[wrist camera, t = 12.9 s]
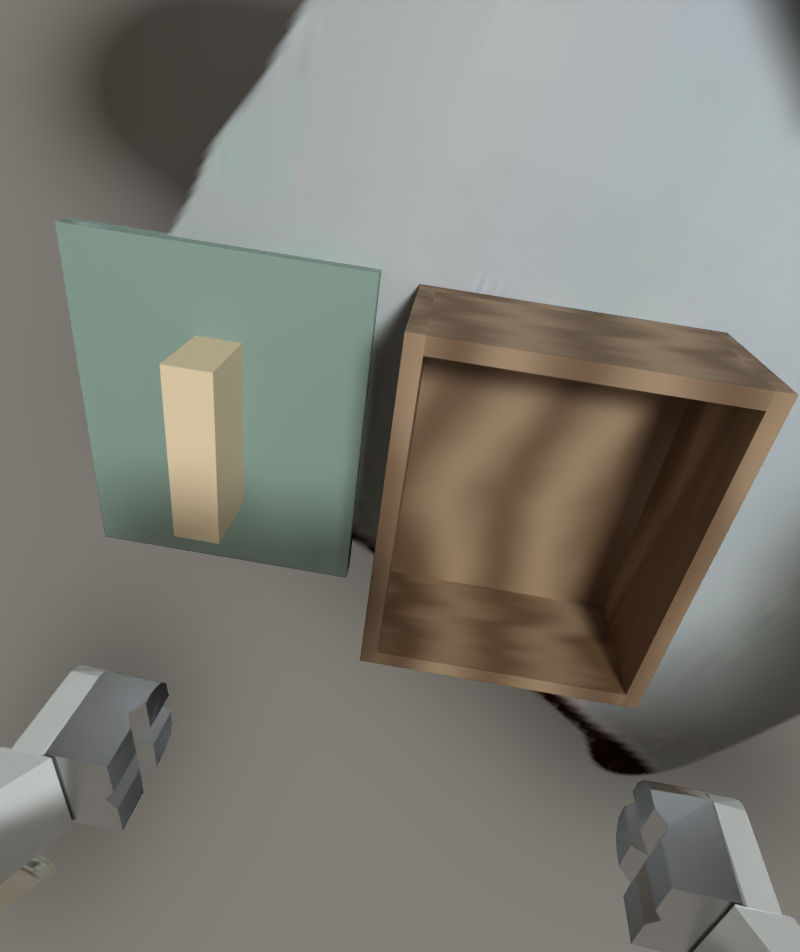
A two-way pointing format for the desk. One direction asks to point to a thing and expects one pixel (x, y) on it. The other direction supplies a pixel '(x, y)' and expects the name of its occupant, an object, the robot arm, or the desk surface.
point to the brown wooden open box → (557, 490)
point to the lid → (221, 392)
